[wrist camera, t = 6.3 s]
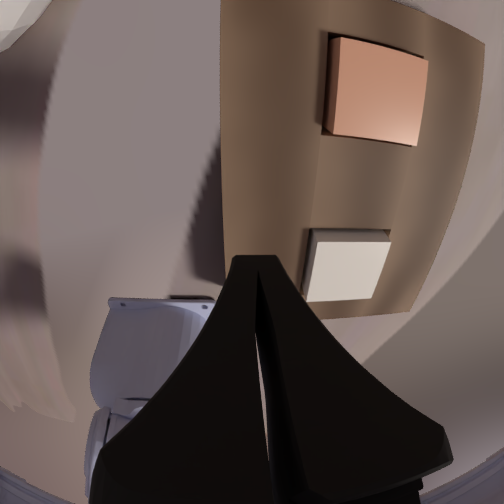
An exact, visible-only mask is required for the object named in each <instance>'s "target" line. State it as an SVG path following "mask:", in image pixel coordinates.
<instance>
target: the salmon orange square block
mask: <svg viewBox="0 0 504 504" xmlns="http://www.w3.org/2000/svg"><path fill="white" fill-rule="evenodd" d="M427 73H428V61H427V60H424V59H422V58H419V57H416V56H413V55H410V54H407V53H403V52H400V51H397V50H393V49H390V48H386V47H383V46H379V45H375V44H371V43H367V42H362V41H358V40H353V39H348V38H343V37H339V38H335V39H331V40H328V43H327V63H326V79H325V93H324V106H323V117H322V126H324V127H325V128H326V129H327V130H329V131H330V132H331V133H332V134H337V135H346V136H355V137H363V138H371V139H378V140H384V141H391V142H397V143H402V144H408V145H413V146H417V142H418V137H419V131H420V125H421V119H422V113H423V106H424V99H425V91H426V83H427Z"/></svg>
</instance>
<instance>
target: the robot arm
mask: <svg viewBox="0 0 504 504" xmlns="http://www.w3.org/2000/svg"><path fill="white" fill-rule="evenodd" d="M108 305H109V307H110V311H109V313H108V316H107V318H106V321H105V324H104V327H103V329H102V332H101V335H100V338H99V341H98V344H97V347H96V350H95V353H94V356H93V359H92V362H91V368H90V388H91V392H92V396H93V398H94V400H95V402H96V404H97V405H98V406H99V407H100V408H101V409H99V410H98V411H96V412H95V413H94V416H93V419H92V422H91V426H90V430H89V434H88V439H87V444H86V451H85V461H84V474H85V476H86V486H85V495H86V496H87V498H88V504H504V447H503V448H502V449H500V450H499V451H497V452H496V453H494V454H493V455H491V456H490V457H488V458H487V459H486V461H485V462H483V463H481V464H480V465H478V466H477V467H475V468H473V469H471V470H470V471H468V472H466V473H464V474H463V475H461V476H459V477H457V478H455V479H453V480H451V481H450V482H448V483H445V484H443V485H441V486H439V487H437V488H435V489H433V490H431V491H429V492H426V493H424V494H422V495H419V492H418V491H419V490H421V489H423V482H422V477H424V476H427V475H429V474H431V473H433V472H436V471H438V470H440V469H442V468H444V467H446V466H448V465H450V464H451V463H452V462H453V455H452V451H451V448H450V444H449V441H448V438H447V435H446V433H445V430H444V428H443V426H441V425H440V424H438V423H437V422H435V421H433V420H432V419H430V418H428V417H427V416H425V415H424V414H422V413H421V412H419V411H418V410H416V409H414V408H413V407H411V406H410V405H409V404H407V403H406V402H404V401H403V400H402V399H401V398H399V397H398V396H397V395H395V394H394V393H393V392H391V391H390V390H389V389H388V388H387V387H386V386H384V385H383V384H382V383H381V382H380V381H378V380H377V379H376V378H375V377H374V376H373V375H372V374H370V373H369V372H368V371H367V370H366V369H365V368H363V366H361V365H360V364H359V363H358V362H357V361H356V360H355V359H354V358H353V357H352V356H351V355H350V354H349V353H348V352H347V351H346V350H345V348H344V347H343V346H342V345H341V344H340V343H339V342H338V341H337V340H336V339H335V338H334V336H333V335H332V334H331V333H330V332H329V331H328V329H327V328H326V327H325V326H324V325H323V323H322V322H321V321H320V320H319V318H318V317H317V316H316V315H315V313H314V312H313V311H312V309H311V308H310V307H309V305H308V304H307V302H306V301H305V300H304V298H303V297H302V295H301V294H300V292H299V291H298V290H297V288H296V286H295V285H294V283H293V282H292V280H291V279H290V277H289V275H288V274H287V272H286V270H285V269H284V267H283V265H282V263H281V261H280V259H279V258H278V257H277V256H276V255H235V256H234V257H233V258H232V261H231V266H230V269H229V272H228V275H227V278H226V281H225V283H224V286H223V288H222V290H221V292H220V295H219V297H218V299H217V301H214V300H184V299H141V298H140V299H139V298H114V297H111V298H109V300H108ZM203 305H206V306H203ZM255 333H256V337H255ZM256 340H257V346H258V353H259V359H260V365H261V371H262V378H263V384H264V391H265V399H266V415H267V434H268V453H269V461H268V453H267V445H266V437H265V428H264V419H263V410H262V401H261V391H260V381H259V370H258V360H257V348H256ZM111 412H112V413H111ZM0 504H75V503H71V502H69V501H67V500H64V499H62V498H59V497H57V496H55V495H52V494H50V493H48V492H45V491H43V490H41V489H39V488H37V487H35V486H33V485H31V484H29V483H27V482H26V480H25V479H23V478H21V477H19V476H17V475H15V474H14V473H12V472H10V471H8V470H6V469H5V468H3V467H1V466H0Z"/></svg>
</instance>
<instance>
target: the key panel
mask: <svg viewBox="0 0 504 504" xmlns="http://www.w3.org/2000/svg"><path fill="white" fill-rule="evenodd" d="M339 37H343V38H348V39H353V40H358V41H362V42H367V43H371V44H375V45H379V46H383V47H386V48H390V49H393V50H397V51H400V52H403V53H407V54H410V55H413V56H416V57H419V58H422V59H424V60H427V61H428V73H427V83H426V91H425V99H424V106H423V113H422V119H421V125H420V131H419V137H418V142H417V146H413V145H408V144H402V143H397V142H391V141H384V140H378V139H371V138H363V137H355V136H346V135H337V134H332V133H331V132H330V131H329V130H327V129H326V128H325V127H324V126H322V117H323V106H324V93H325V79H326V63H327V43H328V40H331V39H335V38H339ZM484 53H485V44H484V43H482V42H481V41H479V40H477V39H476V38H474V37H472V36H470V35H469V34H467V33H465V32H463V31H461V30H459V29H457V28H455V27H453V26H451V25H449V24H447V23H445V22H443V21H441V20H439V19H437V18H435V17H432V16H430V15H428V14H425V13H423V12H420V11H418V10H415V9H413V8H410V7H408V6H405V5H402V4H399V3H397V2H394V1H391V0H221V14H220V133H221V175H222V206H223V231H224V253H225V273H226V278H227V275H228V272H229V269H230V266H231V261H232V258H233V257H234V256H235V255H276V256H277V257H278V258H279V259H280V261H281V263H282V265H283V267H284V269H285V270H286V272H287V274H288V275H289V277H290V279H291V280H292V282H293V283H294V285H295V286H296V288H297V290H298V291H299V292H300V294H301V295H302V297H303V298H304V300H305V301H306V299H305V295H304V291H303V287H302V283H301V279H302V273H303V267H304V261H305V254H306V248H307V241H308V235H309V228H352V229H383V231H384V232H385V233H386V235H387V236H388V238H389V239H390V241H391V245H390V248H389V251H388V254H387V257H386V260H385V263H384V266H383V268H382V271H381V274H380V277H379V279H378V282H377V285H376V287H375V290H374V292H373V295H372V297H371V298H369V299H354V300H337V301H318V302H307V304H308V305H309V307H310V308H311V309H312V311H313V312H314V313H315V315H316V316H317V317H318V318H319V320H321V319H336V318H349V317H361V316H372V315H382V314H392V313H401V312H409V311H410V309H411V308H412V306H413V304H414V302H415V300H416V298H417V296H418V294H419V292H420V290H421V288H422V286H423V284H424V282H425V279H426V277H427V275H428V273H429V271H430V269H431V266H432V264H433V262H434V259H435V257H436V255H437V252H438V250H439V248H440V245H441V243H442V240H443V238H444V235H445V232H446V230H447V227H448V224H449V222H450V219H451V216H452V213H453V210H454V207H455V205H456V201H457V198H458V195H459V192H460V189H461V185H462V182H463V179H464V175H465V171H466V168H467V164H468V160H469V156H470V152H471V147H472V143H473V138H474V134H475V128H476V123H477V117H478V111H479V105H480V98H481V90H482V81H483V70H484Z"/></svg>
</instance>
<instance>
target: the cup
mask: <svg viewBox="0 0 504 504" xmlns="http://www.w3.org/2000/svg"><path fill="white" fill-rule="evenodd" d="M51 2H52V0H0V53H1V52H2V51H4V50H6V49H8V48H10V47H11V46H12V44H13V43H14V42H15V41H16V40H17V39H18V38H19V37H20V36H21V35H22V34H23V33H24V32H25V31H26V30H27V29H28V28H29V27H30V26H32V25H33V24H34V23H35V22H36V21H37V20H38V19H39V18H40V17H41V15H42V14H43V13H44V11H45V10H46V8H47V7H48V6H49V4H50V3H51Z"/></svg>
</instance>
